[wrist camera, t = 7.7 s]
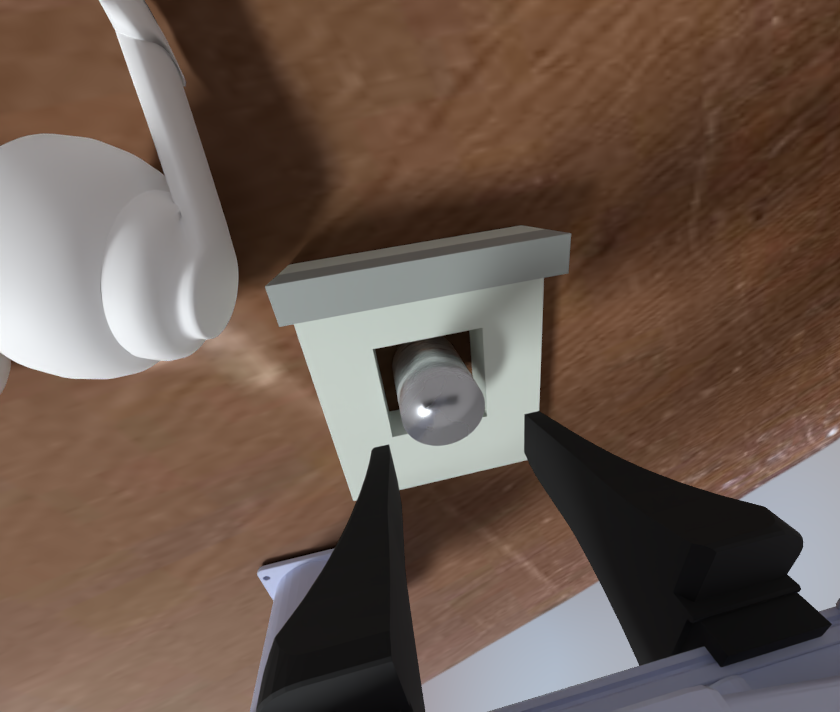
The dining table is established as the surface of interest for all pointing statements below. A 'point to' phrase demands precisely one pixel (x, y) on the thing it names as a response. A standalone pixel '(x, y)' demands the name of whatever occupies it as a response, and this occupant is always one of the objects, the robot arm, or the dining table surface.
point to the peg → (436, 392)
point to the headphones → (114, 235)
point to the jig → (421, 319)
